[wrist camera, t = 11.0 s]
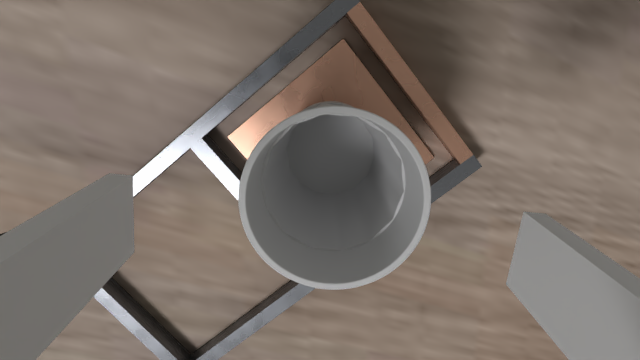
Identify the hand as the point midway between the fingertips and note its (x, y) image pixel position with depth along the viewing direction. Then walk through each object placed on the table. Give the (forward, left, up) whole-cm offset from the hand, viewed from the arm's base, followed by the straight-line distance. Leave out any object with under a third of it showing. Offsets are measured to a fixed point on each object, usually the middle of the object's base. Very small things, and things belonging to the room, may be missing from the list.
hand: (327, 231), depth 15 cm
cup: (0, 0, -16) cm, 16 cm away
